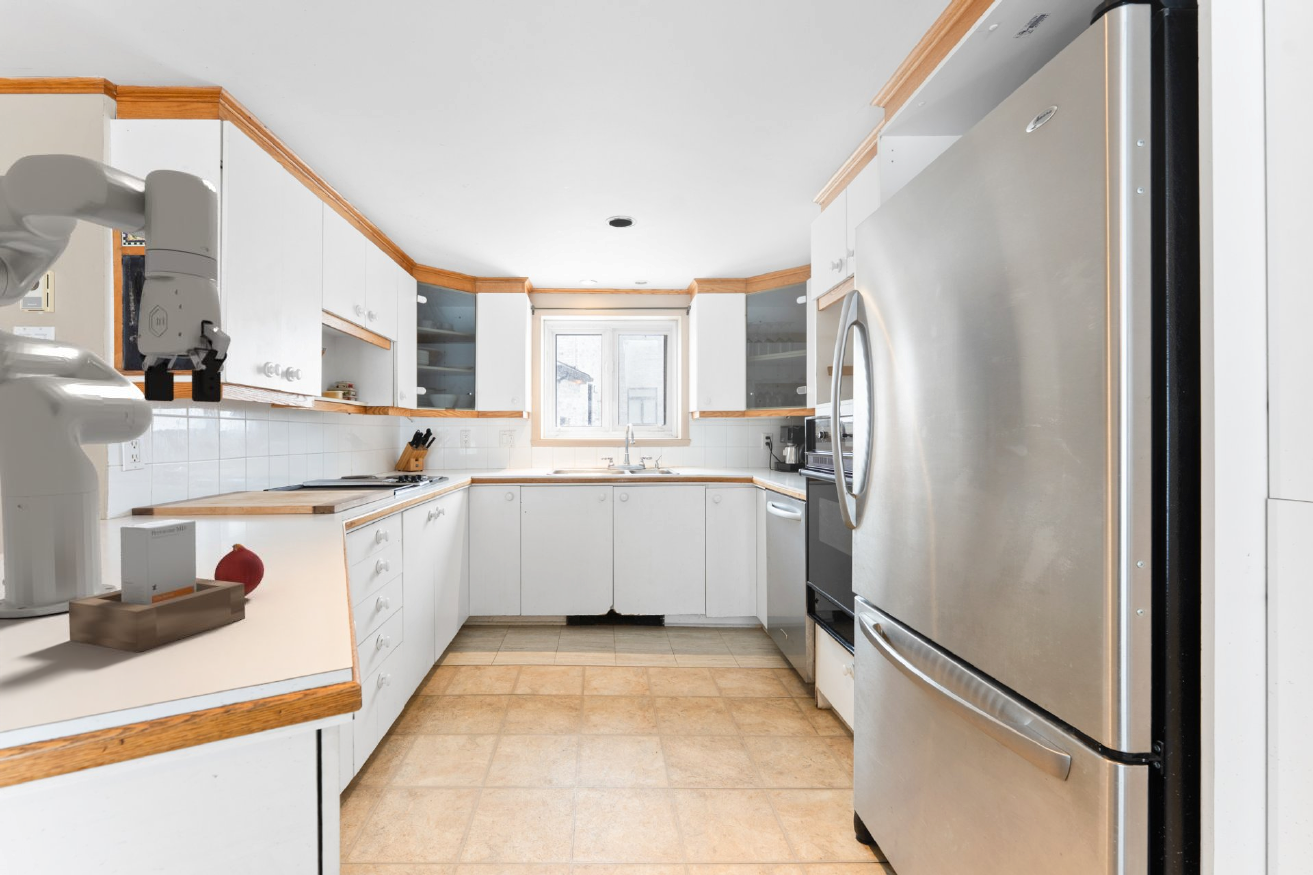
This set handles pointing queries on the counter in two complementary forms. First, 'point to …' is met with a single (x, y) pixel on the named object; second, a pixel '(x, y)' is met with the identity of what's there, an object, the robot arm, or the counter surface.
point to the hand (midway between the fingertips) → (182, 401)
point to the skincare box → (158, 561)
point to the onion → (240, 568)
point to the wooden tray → (155, 616)
